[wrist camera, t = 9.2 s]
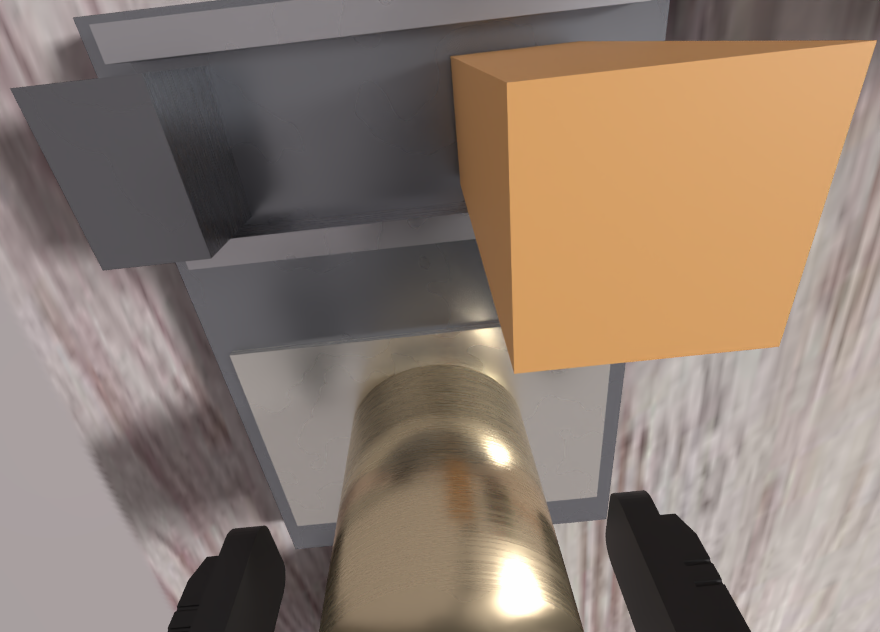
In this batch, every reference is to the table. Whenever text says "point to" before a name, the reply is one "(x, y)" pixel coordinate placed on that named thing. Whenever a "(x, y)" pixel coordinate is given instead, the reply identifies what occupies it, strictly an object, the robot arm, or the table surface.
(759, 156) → the lever
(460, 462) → the cylinder
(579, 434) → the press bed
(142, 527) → the table surface
